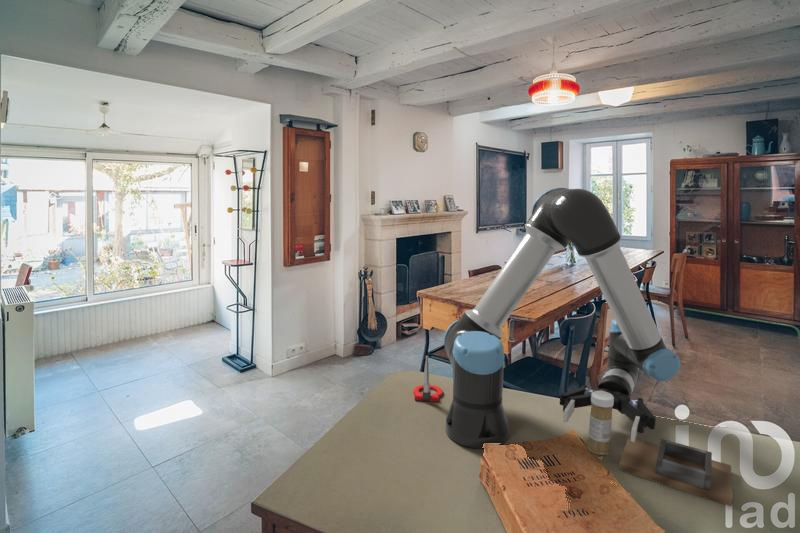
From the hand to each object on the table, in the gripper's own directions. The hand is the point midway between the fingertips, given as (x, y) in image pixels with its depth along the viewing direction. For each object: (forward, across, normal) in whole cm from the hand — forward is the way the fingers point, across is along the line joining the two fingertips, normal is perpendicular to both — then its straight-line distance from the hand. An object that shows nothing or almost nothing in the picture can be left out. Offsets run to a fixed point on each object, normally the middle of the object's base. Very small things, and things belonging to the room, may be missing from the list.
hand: (597, 426), depth 96 cm
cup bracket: (-4, -14, -8) cm, 17 cm away
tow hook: (-5, +46, -8) cm, 47 cm away
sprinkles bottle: (-3, 0, -8) cm, 8 cm away
